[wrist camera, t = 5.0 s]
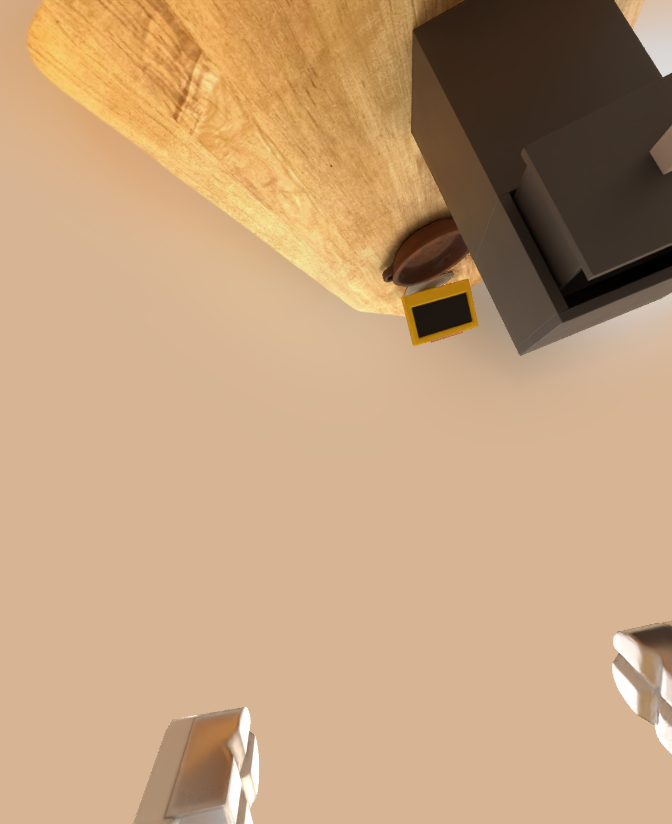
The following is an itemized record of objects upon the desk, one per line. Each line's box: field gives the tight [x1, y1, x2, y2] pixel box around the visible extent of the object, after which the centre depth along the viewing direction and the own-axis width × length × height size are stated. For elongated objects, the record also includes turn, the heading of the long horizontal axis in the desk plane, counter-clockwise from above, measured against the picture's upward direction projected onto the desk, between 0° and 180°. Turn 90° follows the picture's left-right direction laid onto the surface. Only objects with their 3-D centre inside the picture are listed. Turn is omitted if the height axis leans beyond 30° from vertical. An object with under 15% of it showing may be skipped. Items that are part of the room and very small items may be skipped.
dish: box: [383, 219, 469, 287], centre depth 75 cm, size 18×22×5 cm
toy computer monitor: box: [401, 272, 478, 346], centre depth 96 cm, size 20×8×16 cm, turn 78°
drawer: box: [512, 73, 672, 298], centre depth 26 cm, size 21×16×11 cm
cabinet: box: [411, 0, 672, 356], centre depth 38 cm, size 12×16×33 cm
